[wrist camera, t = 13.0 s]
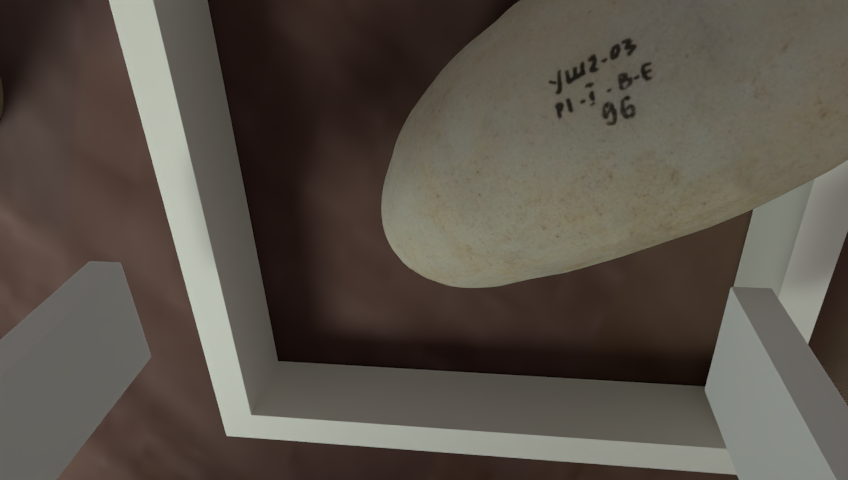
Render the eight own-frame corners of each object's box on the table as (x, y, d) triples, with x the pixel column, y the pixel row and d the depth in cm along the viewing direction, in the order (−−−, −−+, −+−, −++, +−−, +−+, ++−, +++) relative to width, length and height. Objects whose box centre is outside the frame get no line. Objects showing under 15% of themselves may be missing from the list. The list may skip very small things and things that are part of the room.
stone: (306, 172, 15) (770, -391, 6) (469, 107, 19) (903, -291, 10) (428, 373, 15) (1122, 131, 5) (568, 266, 19) (1113, 17, 9)
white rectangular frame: (255, 381, 22) (226, 435, 19) (133, -160, 14) (63, -170, 12) (734, 412, 20) (761, 476, 17) (915, -201, 12) (1006, -221, 10)
